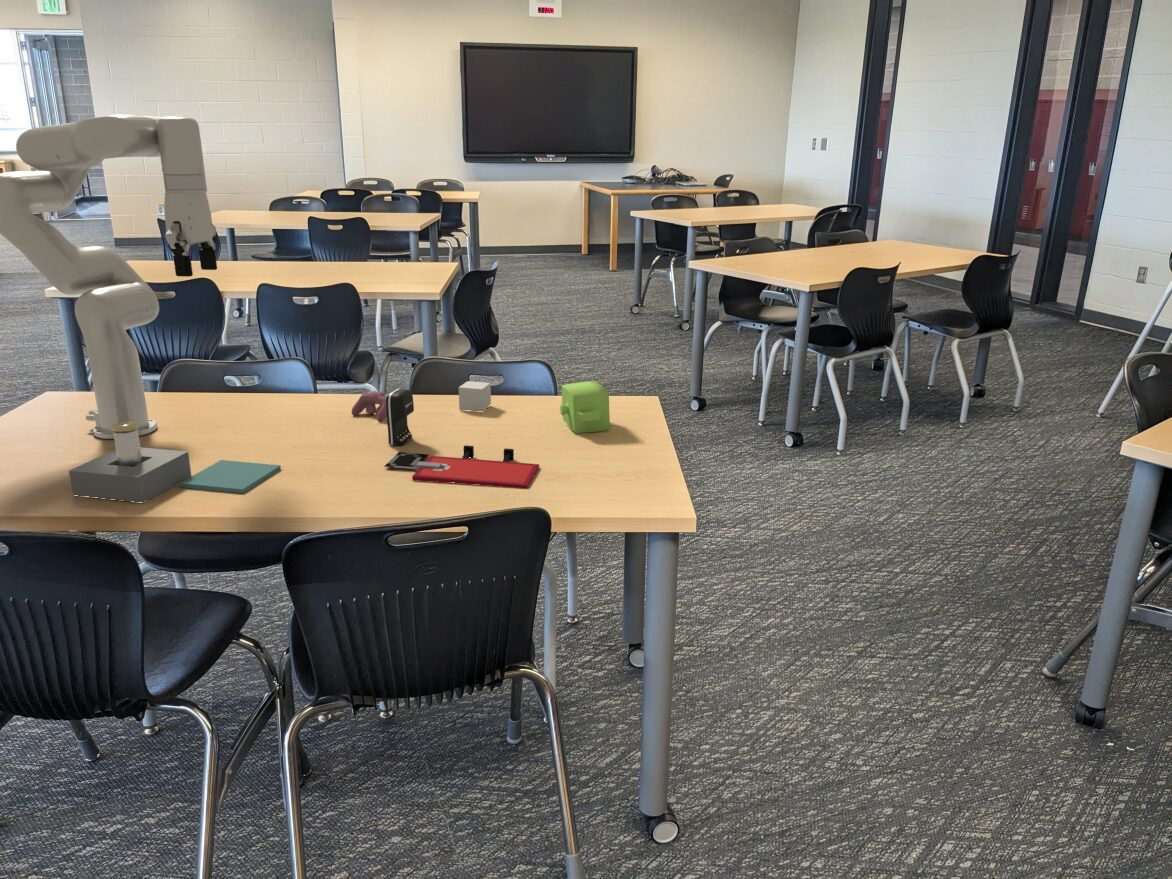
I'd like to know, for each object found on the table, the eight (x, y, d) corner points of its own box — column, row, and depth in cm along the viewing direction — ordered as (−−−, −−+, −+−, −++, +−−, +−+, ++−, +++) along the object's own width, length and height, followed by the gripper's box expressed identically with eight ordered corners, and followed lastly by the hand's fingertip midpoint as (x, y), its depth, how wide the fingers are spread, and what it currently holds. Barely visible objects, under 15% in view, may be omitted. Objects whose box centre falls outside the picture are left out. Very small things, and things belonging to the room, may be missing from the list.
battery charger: (404, 447, 185) (401, 395, 181) (387, 446, 185) (384, 394, 182) (417, 437, 191) (414, 387, 187) (401, 436, 192) (398, 386, 188)
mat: (180, 487, 162) (179, 483, 162) (221, 463, 174) (221, 459, 174) (243, 493, 159) (242, 489, 159) (280, 469, 171) (280, 465, 171)
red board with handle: (402, 453, 182) (375, 479, 168) (401, 440, 181) (374, 466, 167) (542, 464, 178) (527, 492, 164) (542, 451, 177) (527, 478, 163)
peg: (117, 489, 161) (106, 427, 157) (132, 481, 164) (122, 420, 160) (136, 490, 160) (126, 428, 156) (151, 483, 164) (141, 422, 160)
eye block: (73, 496, 157) (68, 470, 155) (127, 469, 170) (123, 445, 168) (142, 503, 154) (137, 477, 153) (191, 476, 167) (188, 451, 166)
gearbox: (551, 418, 208) (549, 379, 205) (591, 413, 211) (589, 375, 208) (571, 439, 192) (569, 398, 189) (613, 434, 194) (612, 393, 191)
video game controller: (391, 425, 204) (399, 396, 205) (378, 421, 200) (386, 392, 201) (361, 418, 209) (369, 390, 210) (348, 414, 205) (356, 385, 206)
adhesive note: (468, 404, 216) (467, 381, 215) (491, 406, 215) (490, 383, 213) (459, 411, 211) (458, 387, 209) (482, 413, 210) (482, 389, 208)
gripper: (190, 182, 178) (201, 267, 183) (141, 185, 162) (155, 278, 167) (225, 183, 177) (235, 267, 183) (180, 186, 161) (193, 279, 166)
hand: (197, 272), depth 175 cm, fingers open, 9 cm apart
